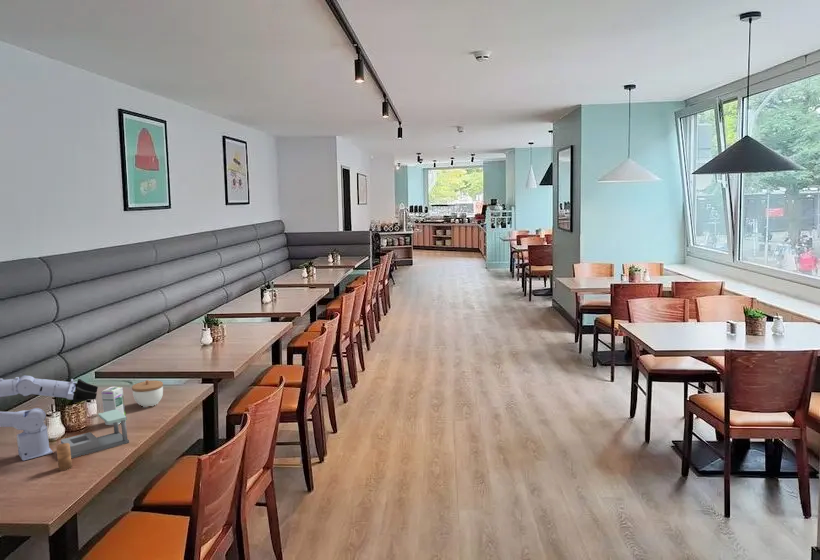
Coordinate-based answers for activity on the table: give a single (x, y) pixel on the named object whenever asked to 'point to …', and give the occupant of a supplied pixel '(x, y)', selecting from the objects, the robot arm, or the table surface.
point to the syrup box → (113, 400)
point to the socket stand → (93, 444)
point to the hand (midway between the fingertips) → (96, 392)
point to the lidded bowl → (148, 392)
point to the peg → (64, 456)
